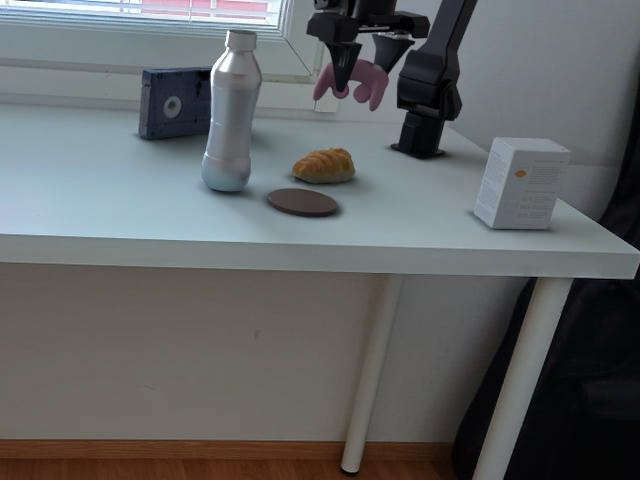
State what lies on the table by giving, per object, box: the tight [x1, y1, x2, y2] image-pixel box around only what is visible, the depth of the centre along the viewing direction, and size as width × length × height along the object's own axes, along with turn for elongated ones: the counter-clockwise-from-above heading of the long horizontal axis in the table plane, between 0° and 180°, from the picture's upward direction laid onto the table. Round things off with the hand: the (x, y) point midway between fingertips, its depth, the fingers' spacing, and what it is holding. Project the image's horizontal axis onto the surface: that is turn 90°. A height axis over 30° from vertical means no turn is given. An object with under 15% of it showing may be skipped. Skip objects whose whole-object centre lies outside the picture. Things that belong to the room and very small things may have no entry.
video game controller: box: [312, 58, 390, 112], centre depth 120 cm, size 10×5×7 cm, turn 61°
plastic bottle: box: [200, 28, 264, 192], centre depth 109 cm, size 6×7×20 cm
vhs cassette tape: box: [137, 65, 214, 140], centre depth 134 cm, size 18×3×10 cm, turn 122°
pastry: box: [291, 147, 356, 185], centre depth 121 cm, size 9×7×4 cm
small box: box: [473, 136, 573, 230], centre depth 110 cm, size 8×6×10 cm
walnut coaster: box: [267, 187, 338, 218], centre depth 111 cm, size 9×9×1 cm
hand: (357, 90), depth 120 cm, fingers closed on video game controller, 7 cm apart
